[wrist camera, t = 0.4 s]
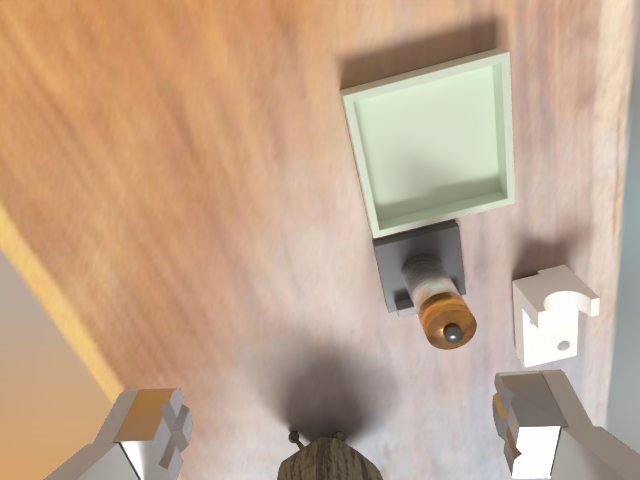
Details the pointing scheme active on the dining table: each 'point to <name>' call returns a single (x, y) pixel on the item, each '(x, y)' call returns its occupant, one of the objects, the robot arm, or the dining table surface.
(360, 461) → the tabletop clock
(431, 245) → the block
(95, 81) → the dining table surface
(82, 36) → the dining table surface
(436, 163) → the tray
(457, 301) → the battery cell
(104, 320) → the dining table surface
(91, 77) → the dining table surface
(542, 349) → the bracket
